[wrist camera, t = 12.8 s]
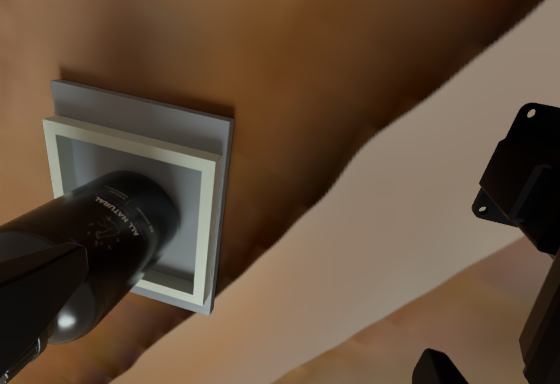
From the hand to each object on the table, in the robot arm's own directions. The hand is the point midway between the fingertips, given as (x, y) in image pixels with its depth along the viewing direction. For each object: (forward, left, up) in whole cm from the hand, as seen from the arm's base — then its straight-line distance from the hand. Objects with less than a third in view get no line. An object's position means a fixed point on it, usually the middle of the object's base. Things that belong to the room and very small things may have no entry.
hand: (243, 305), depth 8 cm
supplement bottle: (+11, +7, -12) cm, 18 cm away
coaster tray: (+11, +7, -13) cm, 18 cm away
